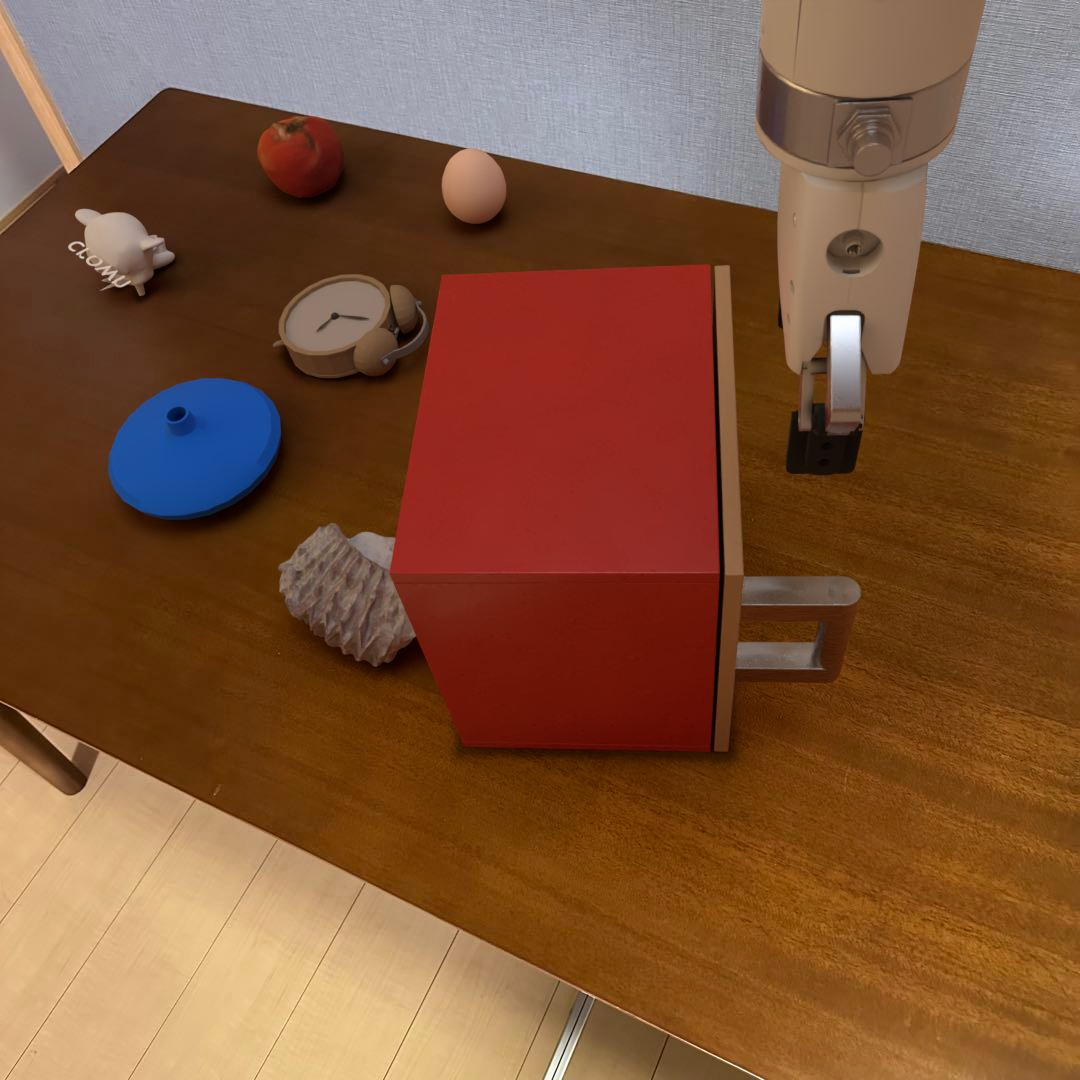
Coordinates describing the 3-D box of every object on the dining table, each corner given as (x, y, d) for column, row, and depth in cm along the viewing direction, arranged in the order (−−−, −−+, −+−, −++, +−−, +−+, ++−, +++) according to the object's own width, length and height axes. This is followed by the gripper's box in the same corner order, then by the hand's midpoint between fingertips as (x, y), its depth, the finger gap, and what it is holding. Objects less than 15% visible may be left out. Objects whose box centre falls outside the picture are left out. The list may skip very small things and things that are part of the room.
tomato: (273, 166, 121) (249, 103, 114) (351, 153, 120) (332, 89, 114) (269, 217, 115) (244, 155, 109) (351, 204, 115) (331, 140, 108)
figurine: (133, 257, 117) (56, 287, 110) (120, 183, 112) (38, 210, 105) (209, 290, 112) (134, 323, 106) (200, 214, 107) (119, 244, 100)
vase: (275, 380, 101) (250, 326, 95) (305, 501, 92) (280, 450, 86) (115, 431, 100) (80, 380, 94) (130, 559, 91) (93, 511, 85)
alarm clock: (306, 269, 105) (435, 269, 99) (328, 307, 109) (453, 308, 103) (255, 349, 99) (389, 353, 93) (280, 385, 103) (409, 392, 97)
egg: (497, 242, 109) (485, 178, 102) (439, 233, 111) (424, 169, 104) (519, 201, 112) (509, 136, 106) (463, 193, 114) (450, 129, 107)
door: (804, 482, 87) (839, 260, 68) (829, 754, 74) (881, 574, 54) (707, 483, 88) (714, 265, 69) (714, 751, 75) (724, 574, 55)
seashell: (480, 591, 81) (391, 565, 73) (424, 695, 82) (330, 680, 74) (373, 514, 90) (284, 483, 82) (324, 608, 91) (231, 587, 83)
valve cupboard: (704, 484, 88) (710, 263, 69) (710, 752, 75) (720, 573, 55) (494, 487, 91) (441, 274, 71) (463, 747, 77) (388, 573, 58)
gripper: (1000, 235, 34) (908, 534, 48) (934, -42, 43) (874, 274, 58) (763, 243, 35) (741, 533, 49) (750, -29, 45) (735, 278, 59)
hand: (813, 393), depth 53 cm, fingers open, 9 cm apart
